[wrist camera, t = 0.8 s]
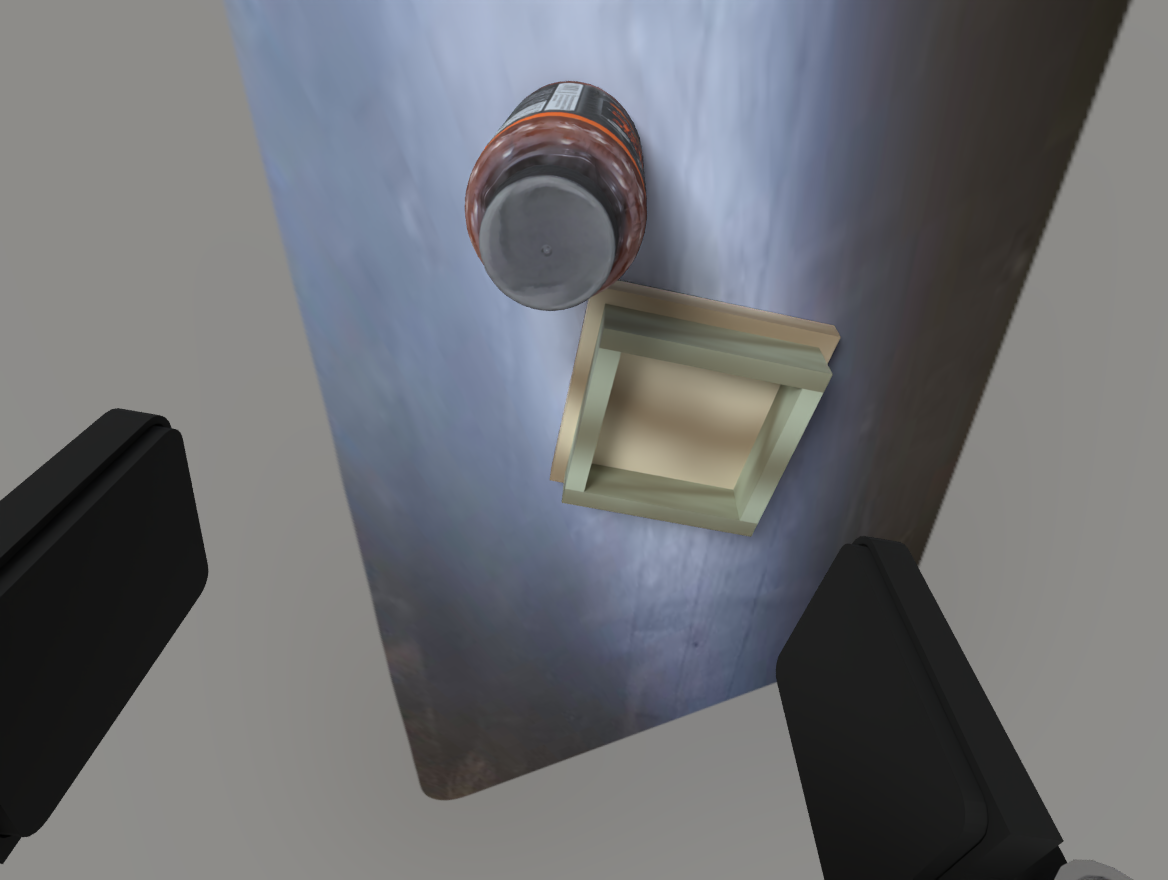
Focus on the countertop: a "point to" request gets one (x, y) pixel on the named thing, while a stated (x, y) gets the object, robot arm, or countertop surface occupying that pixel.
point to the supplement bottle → (559, 197)
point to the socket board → (686, 406)
